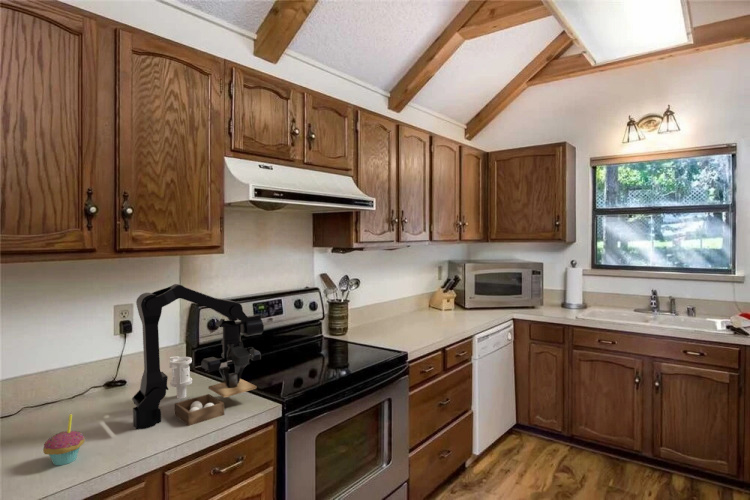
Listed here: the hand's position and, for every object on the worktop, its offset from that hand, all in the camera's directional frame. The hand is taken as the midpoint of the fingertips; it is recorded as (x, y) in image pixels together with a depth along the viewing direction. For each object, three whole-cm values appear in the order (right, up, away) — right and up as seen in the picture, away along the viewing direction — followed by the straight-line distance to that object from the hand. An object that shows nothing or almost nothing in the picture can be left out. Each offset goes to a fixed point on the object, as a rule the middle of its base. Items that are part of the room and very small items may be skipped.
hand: (232, 384), depth 146 cm
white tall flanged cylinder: (-20, -7, +5) cm, 21 cm away
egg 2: (-7, -7, -13) cm, 16 cm away
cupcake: (-31, -9, -36) cm, 48 cm away
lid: (0, -1, 0) cm, 1 cm away
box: (-7, -7, -10) cm, 14 cm away
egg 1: (-9, -6, -8) cm, 14 cm away
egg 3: (-4, -6, -9) cm, 12 cm away
